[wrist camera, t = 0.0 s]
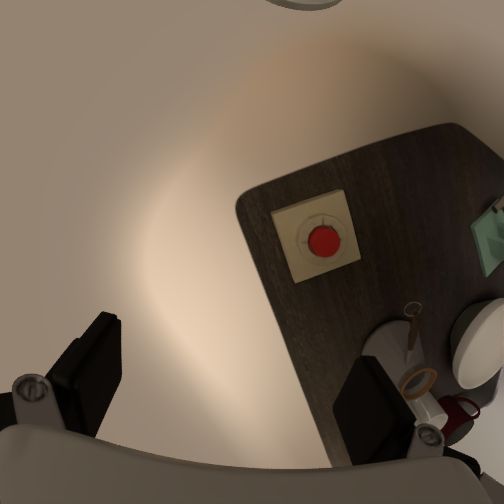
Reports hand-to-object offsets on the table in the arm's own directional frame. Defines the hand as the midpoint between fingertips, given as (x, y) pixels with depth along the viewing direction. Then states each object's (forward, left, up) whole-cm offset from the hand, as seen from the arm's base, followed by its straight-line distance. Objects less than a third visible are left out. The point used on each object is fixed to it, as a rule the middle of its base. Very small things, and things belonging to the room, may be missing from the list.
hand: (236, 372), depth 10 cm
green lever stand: (-9, +48, -30) cm, 57 cm away
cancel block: (-1, +11, -30) cm, 32 cm away
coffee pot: (+11, +27, -30) cm, 42 cm away
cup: (+28, +44, -30) cm, 60 cm away
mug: (+32, +59, -30) cm, 74 cm away
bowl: (+10, +51, -30) cm, 60 cm away
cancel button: (-1, +11, -27) cm, 29 cm away
